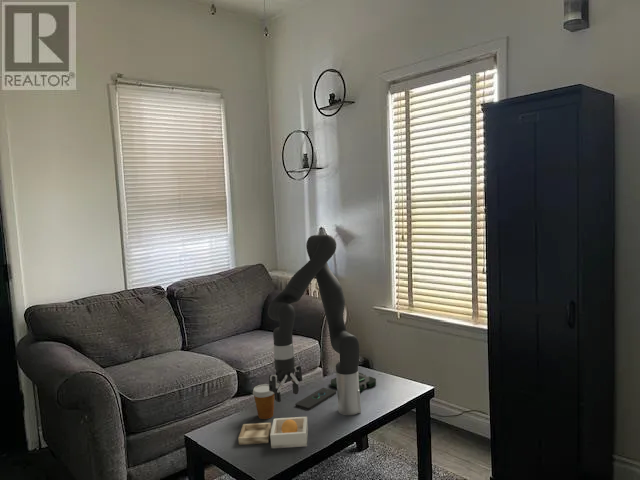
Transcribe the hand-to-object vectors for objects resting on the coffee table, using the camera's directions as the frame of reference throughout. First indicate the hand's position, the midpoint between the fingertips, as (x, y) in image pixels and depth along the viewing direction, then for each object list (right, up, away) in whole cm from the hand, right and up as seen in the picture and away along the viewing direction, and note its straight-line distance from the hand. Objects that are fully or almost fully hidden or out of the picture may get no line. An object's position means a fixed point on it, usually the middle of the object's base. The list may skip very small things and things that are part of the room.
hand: (286, 397), depth 180 cm
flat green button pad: (+28, -10, +48) cm, 56 cm away
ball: (+1, -12, +1) cm, 12 cm away
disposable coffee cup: (-10, -15, +22) cm, 28 cm away
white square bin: (+1, -16, +2) cm, 16 cm away
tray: (-12, -17, +5) cm, 21 cm away
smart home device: (+11, -13, +34) cm, 38 cm away
